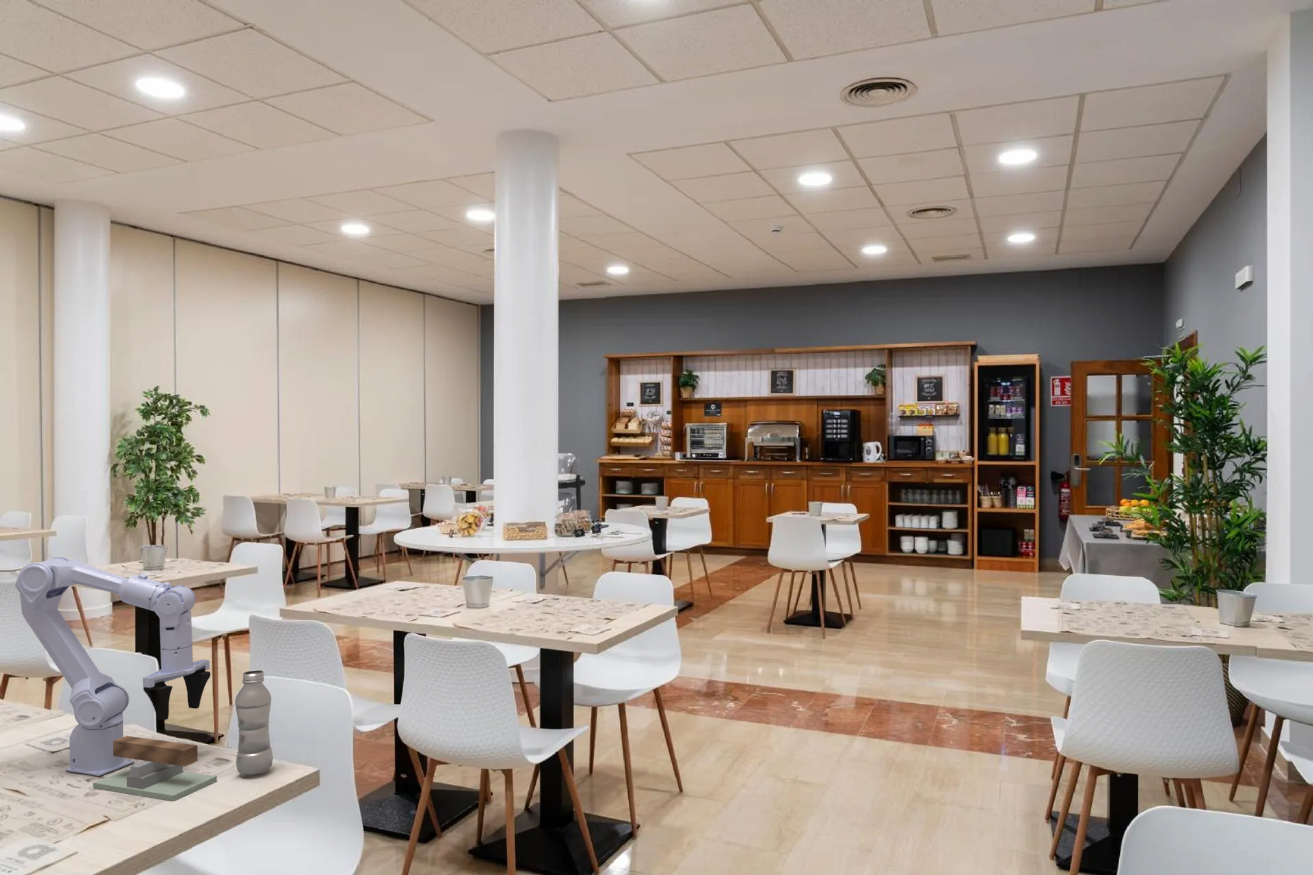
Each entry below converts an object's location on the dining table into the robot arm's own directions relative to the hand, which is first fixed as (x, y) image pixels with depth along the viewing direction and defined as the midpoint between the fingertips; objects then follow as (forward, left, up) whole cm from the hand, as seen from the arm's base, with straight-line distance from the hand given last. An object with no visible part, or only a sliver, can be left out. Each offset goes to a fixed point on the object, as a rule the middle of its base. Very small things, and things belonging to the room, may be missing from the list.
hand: (178, 713), depth 183 cm
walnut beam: (+5, -10, -5) cm, 12 cm away
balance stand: (+5, -10, -10) cm, 15 cm away
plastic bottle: (+19, +1, -11) cm, 21 cm away
